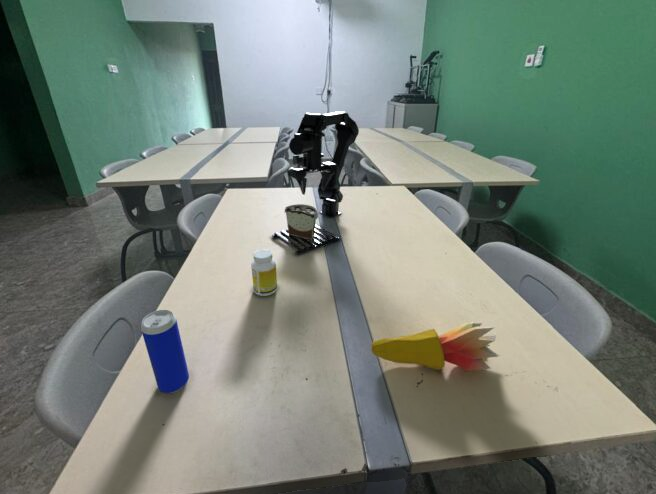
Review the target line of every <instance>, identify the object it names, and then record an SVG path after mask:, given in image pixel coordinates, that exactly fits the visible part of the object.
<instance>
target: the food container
mask: <svg viewBox="0 0 656 494" xmlns="http://www.w3.org/2000/svg"><path fill="white" fill-rule="evenodd" d="M284 213H285V217H286V224H287V229H288V232H289V234H290V235H291V236H293V237H296V236H298V237H302V238H305V239H307V240H309V239H311V240H312V239H313V238H314V239H315V237H314V233H315V229H316V228H315V224H316V223H317V222H316V221H317V219H318V218H319V214H318V211H317V208H316V207H314V206H313V205H310V204H304V203H303V204H302V203H301V204H300V203H299V204H291V205H288V206H287V205H286V206H285V208H284ZM311 240H310V241H311Z"/></svg>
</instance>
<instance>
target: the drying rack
mask: <svg viewBox="0 0 656 494" xmlns="http://www.w3.org/2000/svg"><path fill="white" fill-rule="evenodd" d="M271 237H272V239H278V238H279V239H281V240H282V241H284V242H285V243H286V244H288V245H289V246H290V247H292V248H294V249H295V250H296V251H295V255H297V256H300V255H302V254H305V253H307V252H311V251H313V250H316V249H319V248H323V247H324V246H328V245H330V244H332V243H335V242H338V241H340V240H341V237H340V236H337V235H336V234H335V233H332V232H331V231H329V230H326V229H325V228H323V227H321V226H320V225H317V224H316V223H315V232H314V238H313V239H312V240H311V239H306V238H302V237H298V236H294V235H290V234H289V232H288V228H286V230H284V229H282V230H280V231H279V232H278V231H275V232H274V233H273V234H272V235H271Z"/></svg>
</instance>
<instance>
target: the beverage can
mask: <svg viewBox="0 0 656 494" xmlns="http://www.w3.org/2000/svg"><path fill="white" fill-rule="evenodd" d="M140 330H141V334H142V338H143V341H144V345H145V348H146V351H147V354H148V359H149V362H150V365H151V369H152V372H153V375H154V379H155V382H156V386H157V389H158V391H159V392H161V393H163V394H174V393H177V392H179V391H180V390H182V389H183V388H184V387H185V386H186V385H187V383H188V381H189V379H190V373H189V369H188V365H187V359H186V355H185V350H184V346H183V342H182V338H181V333H180V329H179V324H178V321H177V317H176V315H175V314H174V312H173V311H172V310H169V309H157V310H154V311H152V312H150V313H148V314H147V315H145V316H144V317H143V319H142V320H141V325H140Z"/></svg>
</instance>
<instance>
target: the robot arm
mask: <svg viewBox="0 0 656 494" xmlns="http://www.w3.org/2000/svg"><path fill="white" fill-rule="evenodd" d="M333 125H334V129H335V131H336V133H335V135H336V140H337V144H336V147H335V150H334V154H333V156H332V158H331V159H332V160H331V161H323V162H322V158H324V157H325V154H324V153H323V152H322V151H323V137H326V134H325V133H324V132H323V131H325V130H326V129H327V128H328V127H329V126H333ZM358 126H359V125H358V124H357V122H356V121H355V120H353V118H352V117H350V115H349V113H348V112H347V111H338V110H337V111H335V112H328V113H311V112H305V113H304V115H303V117H302V119H301V121H300V124H299V126H298V129H297V131H296V133H293V137H292V138H291V139H290V141H289V144H288V145H289V150H290V152H291V153H292V154H293V156H292V164H293V165H294V166H293V167H289V168H288V170H287V175H288V176H289V177H291V178H292V179H295V180H296V182H297V184H298V187H299V189H300V192H301V195H303V196H304V195H305V194H306V192H307V191H306V189H307V180H308V178H307V174H312V173H317V172H319V173H320V175H321V178H320V180H319V183H318V186H317V195H318V199H319V200H321V201H322V203H321V211H320V214H322V215H324V216H326V217H328V218H332V217H335V216H338V215H341V214H342V212H340V211H339V207H340V205H339V204H340V203H342V201H343V198H344V195H343V193H342V192H341V183H340V176H341V173H342V170H343V167H344V164H345V161H346V159H347V158H346V157H347V155H348V151H349V148H350V147H351V145H353V144H354V143H355V142H356V140H357V137H358V135H359V133H360V129H359V127H358ZM300 155H302V156H300Z"/></svg>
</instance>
